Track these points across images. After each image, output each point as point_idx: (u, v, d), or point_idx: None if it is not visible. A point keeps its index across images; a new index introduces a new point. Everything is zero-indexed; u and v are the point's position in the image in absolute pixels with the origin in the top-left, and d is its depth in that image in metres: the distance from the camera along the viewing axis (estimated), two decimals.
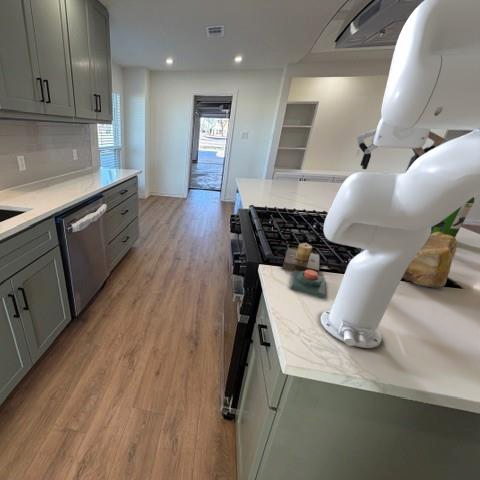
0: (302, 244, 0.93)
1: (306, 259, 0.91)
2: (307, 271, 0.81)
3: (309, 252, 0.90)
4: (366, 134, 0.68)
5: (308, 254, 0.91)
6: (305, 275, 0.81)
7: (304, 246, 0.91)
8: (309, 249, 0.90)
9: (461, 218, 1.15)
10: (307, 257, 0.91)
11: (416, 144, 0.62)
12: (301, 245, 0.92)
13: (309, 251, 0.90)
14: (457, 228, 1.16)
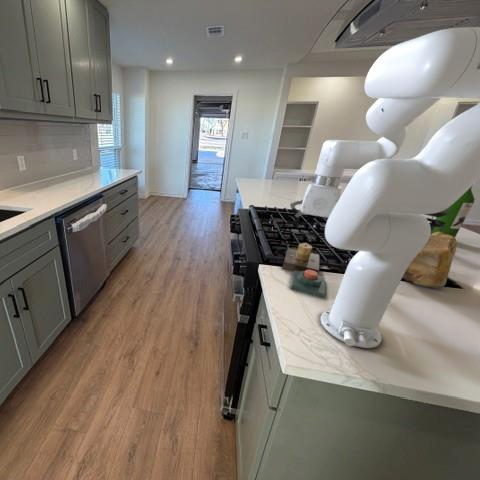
0: (302, 244, 0.93)
1: (306, 259, 0.91)
2: (307, 271, 0.81)
3: (309, 252, 0.90)
4: (296, 202, 0.88)
5: (308, 254, 0.91)
6: (305, 275, 0.81)
7: (304, 246, 0.91)
8: (309, 249, 0.90)
9: (461, 218, 1.15)
10: (307, 257, 0.91)
11: (329, 215, 0.82)
12: (301, 245, 0.92)
13: (309, 251, 0.90)
14: (457, 228, 1.16)
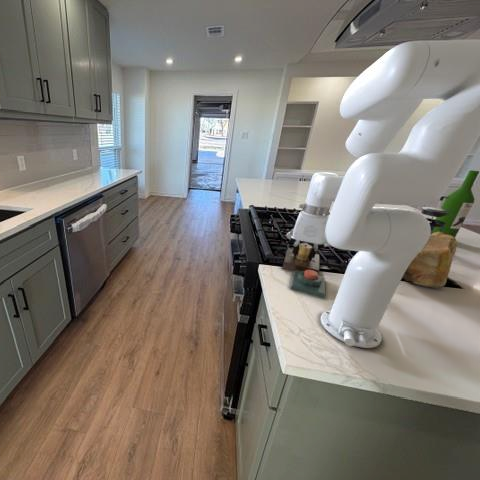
0: (302, 244, 0.93)
1: (306, 259, 0.91)
2: (307, 271, 0.81)
3: (309, 252, 0.90)
4: (290, 232, 0.92)
5: (308, 254, 0.91)
6: (305, 275, 0.81)
7: (304, 246, 0.91)
8: (309, 249, 0.90)
9: (461, 218, 1.15)
10: (307, 257, 0.91)
11: (318, 242, 0.86)
12: (301, 245, 0.92)
13: (309, 251, 0.90)
14: (457, 228, 1.16)
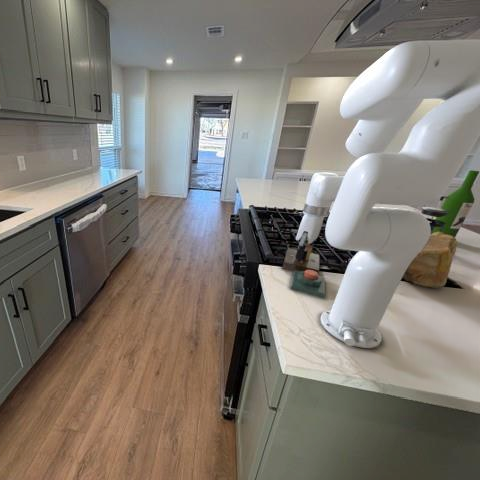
0: None
1: None
2: (307, 271, 0.81)
3: None
4: None
5: None
6: (305, 275, 0.81)
7: None
8: None
9: (461, 218, 1.15)
10: None
11: None
12: (305, 244, 0.93)
13: None
14: (457, 228, 1.16)
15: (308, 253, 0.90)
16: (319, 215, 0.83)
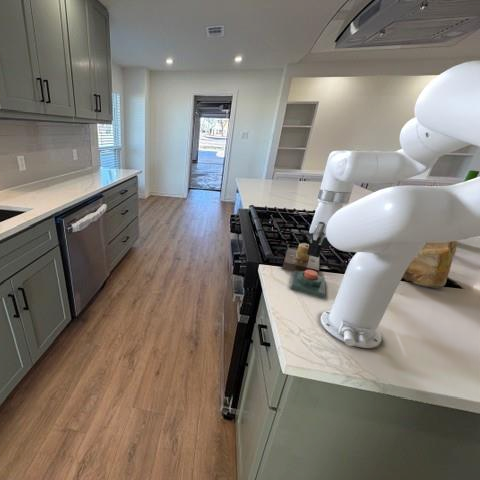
0: (308, 245, 0.92)
1: (296, 256, 0.94)
2: (307, 271, 0.81)
3: (298, 249, 0.92)
4: None
5: (297, 251, 0.93)
6: (305, 275, 0.81)
7: (303, 244, 0.92)
8: (299, 246, 0.92)
9: None
10: (297, 254, 0.93)
11: None
12: (305, 244, 0.93)
13: (298, 248, 0.92)
14: None
15: None
16: (338, 202, 0.69)
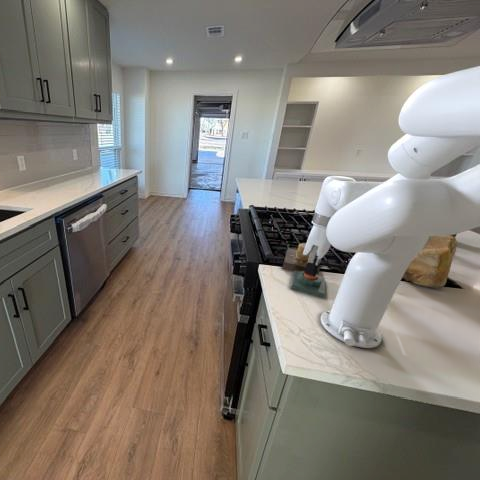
0: None
1: (296, 256, 0.94)
2: None
3: (298, 249, 0.92)
4: None
5: (297, 251, 0.93)
6: None
7: (303, 244, 0.92)
8: (299, 246, 0.92)
9: None
10: (297, 254, 0.93)
11: None
12: (305, 244, 0.93)
13: (298, 248, 0.92)
14: None
15: (308, 253, 0.90)
16: None
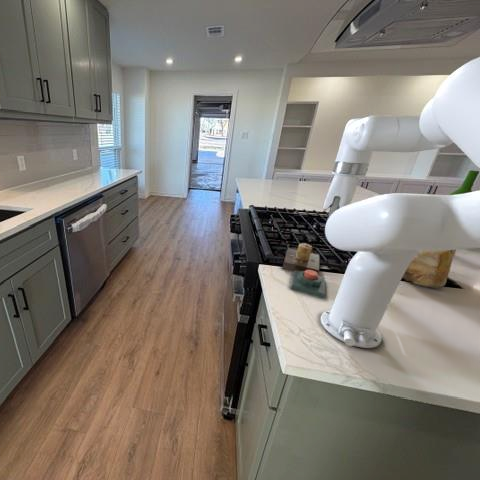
0: (308, 245, 0.92)
1: (296, 256, 0.94)
2: (307, 271, 0.81)
3: (298, 249, 0.92)
4: None
5: (297, 251, 0.93)
6: (305, 275, 0.81)
7: (303, 244, 0.92)
8: (299, 246, 0.92)
9: None
10: (297, 254, 0.93)
11: (323, 206, 0.71)
12: (305, 244, 0.93)
13: (298, 248, 0.92)
14: None
15: (308, 253, 0.90)
16: (355, 174, 0.65)
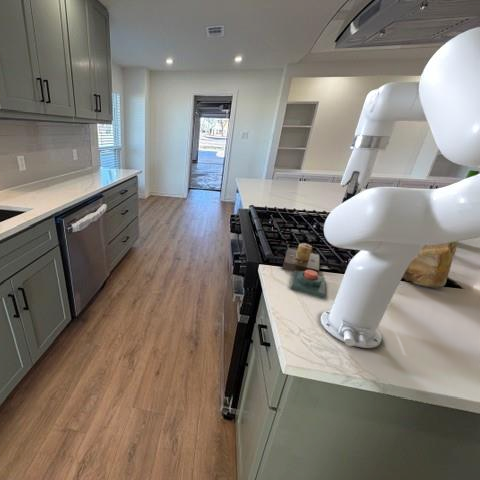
0: (308, 245, 0.92)
1: (296, 256, 0.94)
2: (307, 271, 0.81)
3: (298, 249, 0.92)
4: None
5: (297, 251, 0.93)
6: (305, 275, 0.81)
7: (303, 244, 0.92)
8: (299, 246, 0.92)
9: None
10: (297, 254, 0.93)
11: (341, 183, 0.69)
12: (305, 244, 0.93)
13: (298, 248, 0.92)
14: None
15: (308, 253, 0.90)
16: (376, 147, 0.62)
